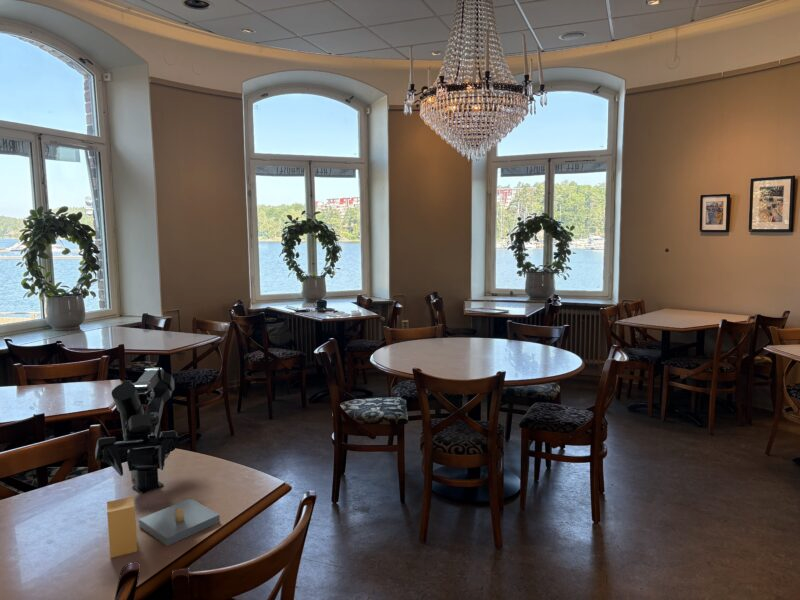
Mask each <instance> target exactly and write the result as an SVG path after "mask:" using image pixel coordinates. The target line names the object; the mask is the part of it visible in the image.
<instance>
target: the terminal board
mask: <svg viewBox="0 0 800 600" xmlns="http://www.w3.org/2000/svg"><path fill="white" fill-rule="evenodd" d="M220 522H221V519H220V514H219V513H218V512H216V511H214V510H212V509H210V508H209V507H206V506H205V505H203V504H201V503H199V502H197V500H194V499H193V498H188V499H185V500H183V501H181V502H178V503H175V504H173V505H171V506H168V507H166V508H163V509H161V510H158V511H156V512H154V513H151V514H148V515H145V516H143V517H140V518H139V519H138V525H139V528H141V529H142V530H143V531H145V532H147V534H149V535H151V536H152V537H153V538H155V539H157V540H158V541H159V542H161V543H163V544H164V545H166V547H168V546H171V545H173V544H175V543H177V542H179V541H181V540H184V539H186V538H188V537H190V536H192V535H195V534H197V533H198V532H201V531H203V530H205V529H208V528H210V527H212V526H215V525H216V524H218V523H220Z"/></svg>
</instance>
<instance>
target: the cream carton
mask: <svg viewBox="0 0 800 600" xmlns="http://www.w3.org/2000/svg"><path fill="white" fill-rule="evenodd" d="M106 514H107V531H108V540H109V541H108V543H109V544H108V545H109V553H110V554H109V555H110V556H109V557H110V559H113V558H117V557H120V556H121V557H122V556H125V555H128V554H132V553H136V552H138V550H139V549H138V538H137V537H138V536H137V524H136V509H135V499H134V496H128V497H124V498H119V499H115V500H110V501H107V502H106Z"/></svg>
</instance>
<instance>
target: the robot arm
mask: <svg viewBox="0 0 800 600" xmlns="http://www.w3.org/2000/svg"><path fill="white" fill-rule="evenodd" d="M175 388H176V387H175V380H174V377H173V375H172V374H170V373H168V372H166V371H165V370H164V368H162V367H161V366H158V367H147V368H145V369H144V370H143V373H142V374H141V376H140V377H139V378H138V380H137V381H136V382H132V380H131V379H130V380H123V381H122V383H120V384H118V385H116V386H115V387H114V389H112V390H111V397H112V400H113V402H114V404H115V406H116V409H117V412H119V414H120V421H121V428H122V438H123V440H122V441H121V440H120V441H117V439H116V436H109V437H100V438H98V439H97V441H96V445H95V449H94V450H95V453H94V455H95V460H96V461H99V462H101V461H102V463H107V464H108V465H109V466H110V467H112V468H113V469H114V470H115V471H116V472H117V474H118V475H119V476H120V477H123V475H124V468H123V463H122V460H121V456H120V452H119V451H122V450H123V451H127V453H126V462H127V467H128V471H129V472H131V471H133V470H136V476H137V477H136V484H132V487H131V488H132V489H134V490H135V491H136V492H138V493H140V494H146V493H149V492H151V491H154V490H157V489H159V488H162V487H164V486H165V485H164V483H163V482H161V481H159V469H160V471H163V470H164V467H165V461H166V457H167V456H166V454H168V455H170V454H171V452H174V451H175V449H176V446H177V442H178V440H179V434H178V432H177V431H175V430H168V431H167V430H165V431H160V433H159V436H158V432H159V428H160V424H161V418H162V414H163V409H164V405H165V403H166V402H167V401H168V400H170V398H172V395H173V391H174V390H175ZM143 406H146V409H145V410H144V407H143ZM169 453H170V454H169ZM165 456H166V457H165Z"/></svg>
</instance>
